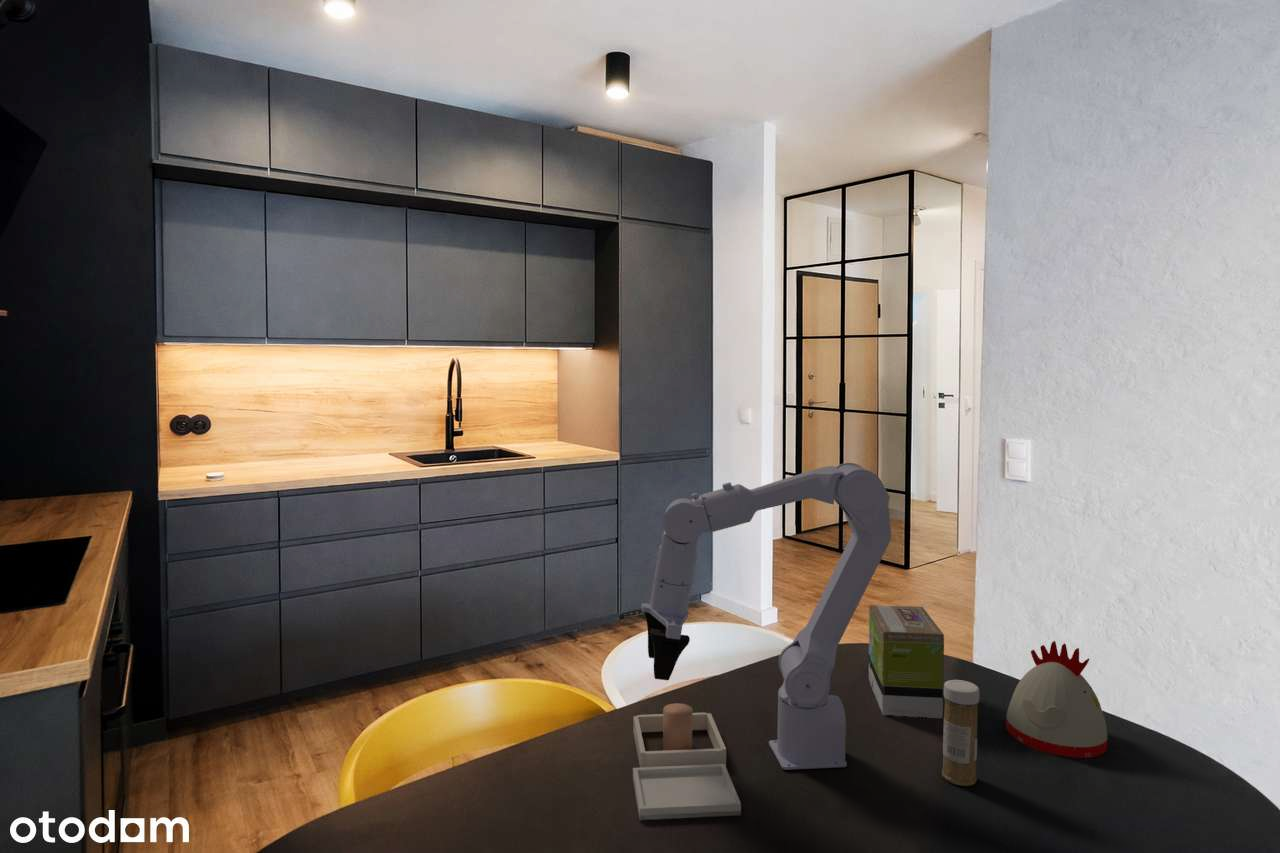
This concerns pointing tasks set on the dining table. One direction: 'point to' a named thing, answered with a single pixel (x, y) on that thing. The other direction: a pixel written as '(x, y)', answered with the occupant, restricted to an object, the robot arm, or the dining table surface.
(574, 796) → the dining table surface
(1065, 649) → the kitchen timer
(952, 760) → the sprinkles bottle
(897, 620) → the tea box
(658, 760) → the grey square frame
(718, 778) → the tray
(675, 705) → the terracotta cylinder
